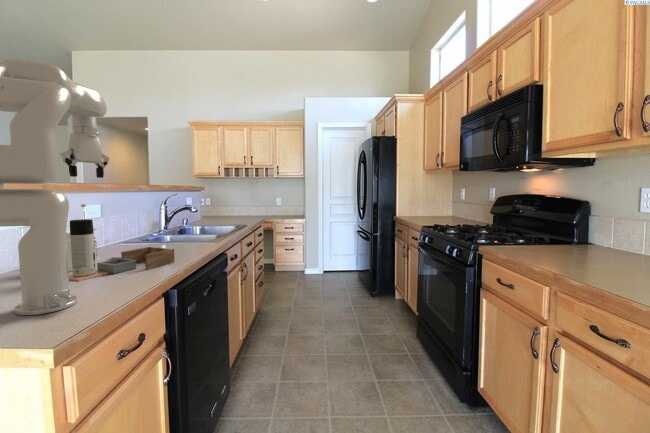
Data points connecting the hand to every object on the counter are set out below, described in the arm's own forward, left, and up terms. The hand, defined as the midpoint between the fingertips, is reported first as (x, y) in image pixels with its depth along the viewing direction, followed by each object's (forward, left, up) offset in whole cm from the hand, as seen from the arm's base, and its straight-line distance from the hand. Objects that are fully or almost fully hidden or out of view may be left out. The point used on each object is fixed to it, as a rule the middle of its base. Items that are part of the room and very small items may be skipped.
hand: (87, 177), depth 121 cm
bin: (-13, -1, -36) cm, 39 cm away
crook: (-2, -13, -36) cm, 39 cm away
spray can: (-10, +9, -36) cm, 38 cm away
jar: (+5, +5, -36) cm, 37 cm away
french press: (+17, -8, -36) cm, 41 cm away
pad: (-10, +9, -36) cm, 39 cm away
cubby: (-16, -13, -36) cm, 42 cm away
